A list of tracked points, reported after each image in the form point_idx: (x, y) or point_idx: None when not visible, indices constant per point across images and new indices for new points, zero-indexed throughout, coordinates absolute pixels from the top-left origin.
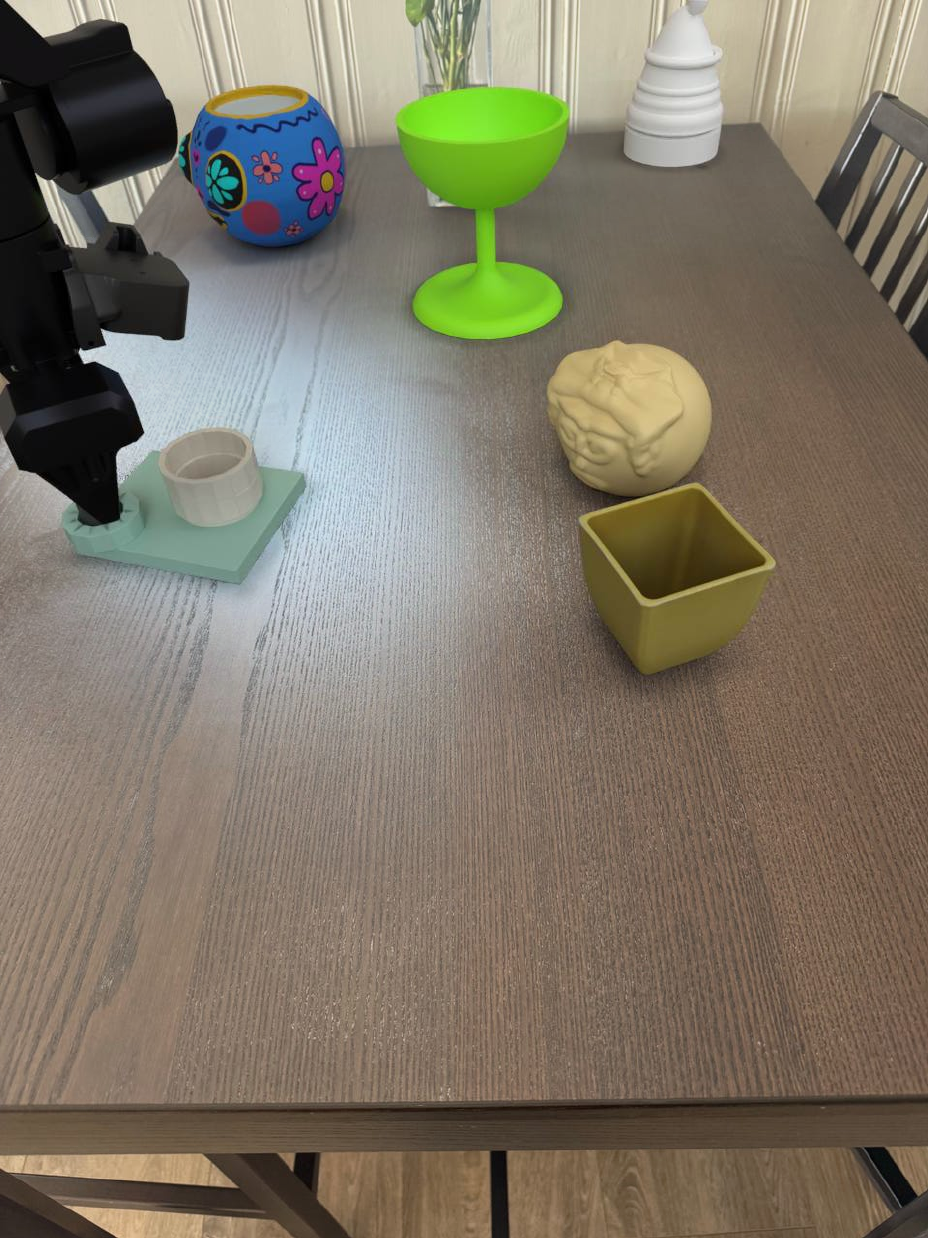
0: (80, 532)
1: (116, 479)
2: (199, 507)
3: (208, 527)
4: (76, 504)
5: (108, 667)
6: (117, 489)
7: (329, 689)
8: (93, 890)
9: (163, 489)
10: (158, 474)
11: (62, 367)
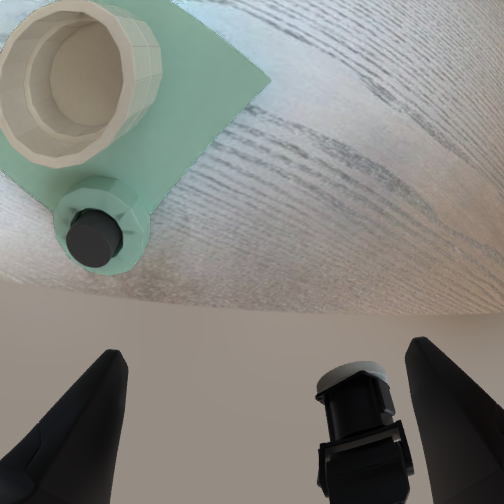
0: (130, 261)
1: (499, 405)
2: (144, 106)
3: None
4: (94, 267)
5: (320, 244)
6: (480, 387)
7: (472, 71)
8: (483, 279)
9: None
10: None
11: (52, 500)
